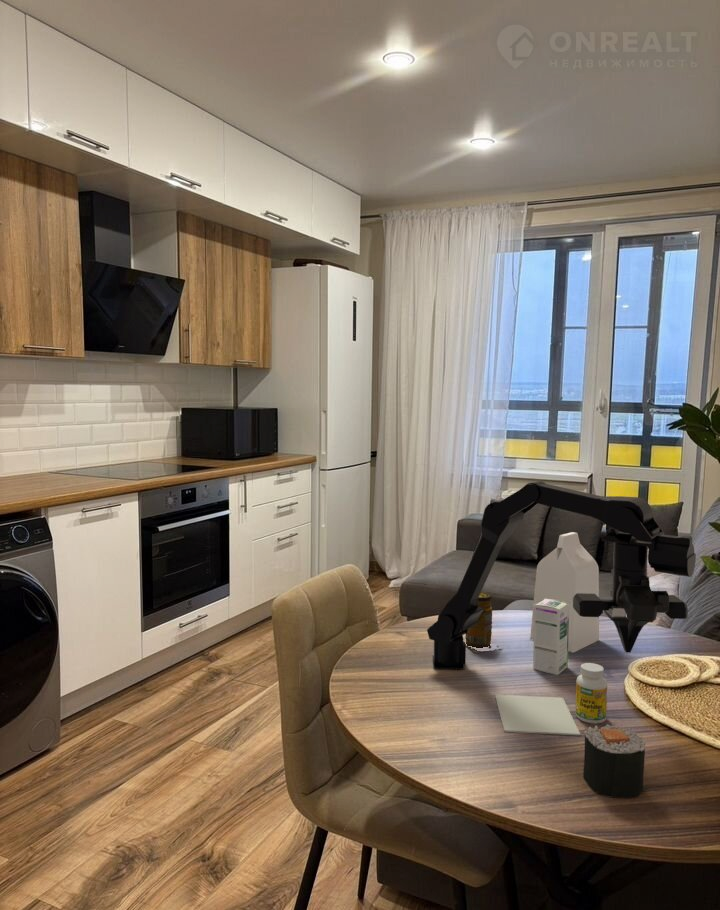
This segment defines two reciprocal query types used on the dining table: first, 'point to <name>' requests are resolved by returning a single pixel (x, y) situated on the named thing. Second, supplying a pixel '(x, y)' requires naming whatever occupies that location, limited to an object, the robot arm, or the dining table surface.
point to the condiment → (481, 625)
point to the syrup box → (551, 636)
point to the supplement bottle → (591, 694)
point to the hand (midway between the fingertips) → (627, 651)
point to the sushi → (614, 761)
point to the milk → (569, 587)
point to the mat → (535, 715)
